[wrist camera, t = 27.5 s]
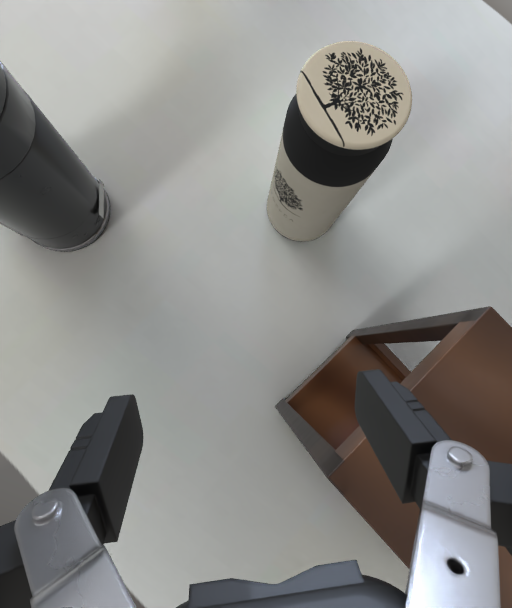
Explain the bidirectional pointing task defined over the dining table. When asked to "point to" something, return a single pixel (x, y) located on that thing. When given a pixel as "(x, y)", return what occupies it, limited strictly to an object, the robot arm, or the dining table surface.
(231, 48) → the dining table surface
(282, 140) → the travel mug
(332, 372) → the shelf
